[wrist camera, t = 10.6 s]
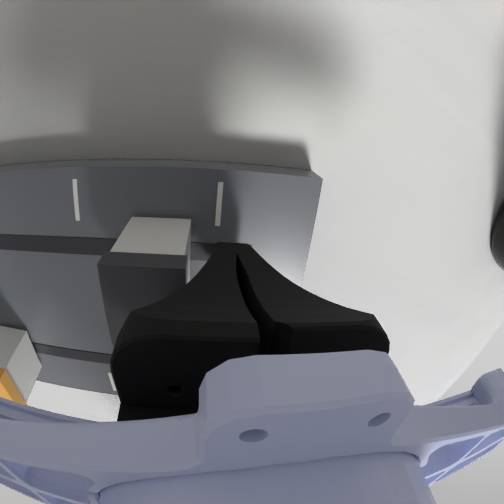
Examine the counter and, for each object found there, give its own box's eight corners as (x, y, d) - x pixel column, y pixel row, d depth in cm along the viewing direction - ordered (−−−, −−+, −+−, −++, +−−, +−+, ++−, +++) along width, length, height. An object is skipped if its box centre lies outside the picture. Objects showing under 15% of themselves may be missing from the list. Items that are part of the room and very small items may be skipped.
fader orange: (43, 367, 15) (23, 416, 11) (13, 360, 15) (-8, 405, 11) (27, 329, 14) (-1, 380, 10) (-4, 323, 13) (-33, 368, 10)
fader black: (192, 286, 13) (186, 351, 10) (134, 282, 13) (112, 345, 9) (193, 216, 12) (185, 269, 8) (129, 214, 12) (97, 264, 8)
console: (268, 383, 20) (272, 401, 18) (5, 356, 17) (-2, 370, 15) (311, 170, 13) (323, 179, 12) (-49, 172, 10) (-66, 180, 9)
